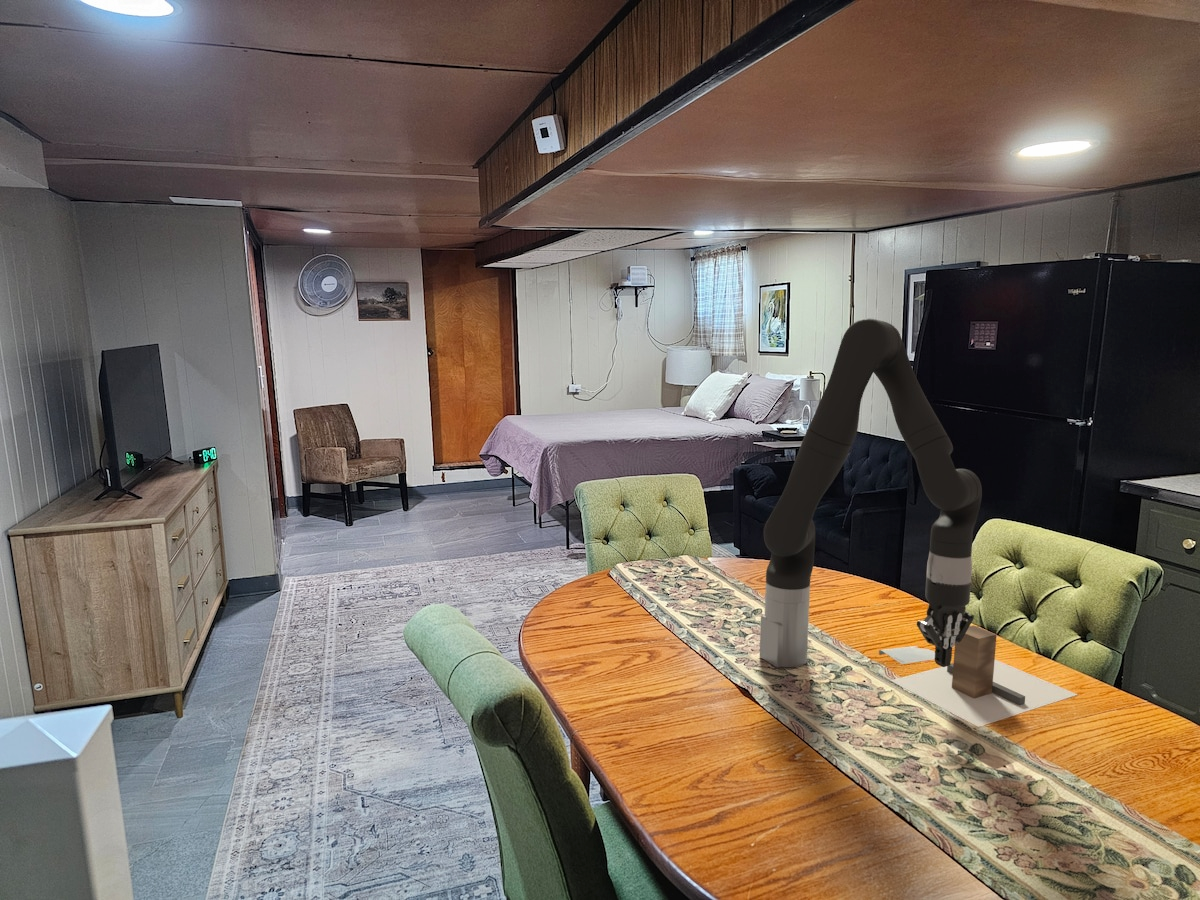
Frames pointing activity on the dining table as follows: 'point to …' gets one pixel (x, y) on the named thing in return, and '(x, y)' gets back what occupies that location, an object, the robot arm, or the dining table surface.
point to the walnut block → (974, 662)
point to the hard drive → (909, 654)
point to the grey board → (1006, 699)
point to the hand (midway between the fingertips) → (942, 664)
